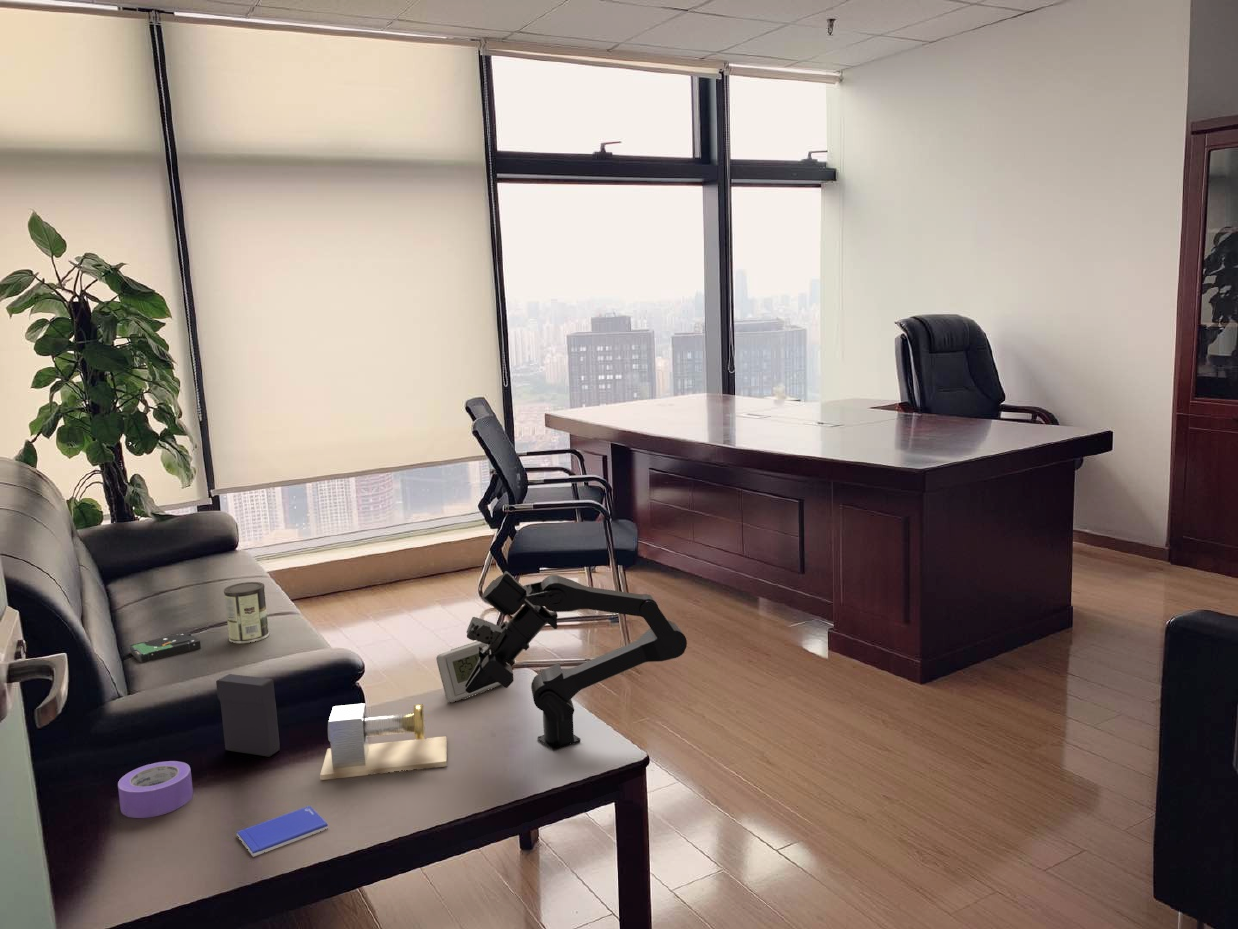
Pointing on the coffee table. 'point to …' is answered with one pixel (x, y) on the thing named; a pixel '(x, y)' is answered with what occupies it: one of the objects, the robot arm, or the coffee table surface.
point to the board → (393, 758)
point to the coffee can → (246, 612)
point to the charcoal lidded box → (248, 714)
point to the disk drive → (164, 647)
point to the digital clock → (459, 670)
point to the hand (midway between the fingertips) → (466, 689)
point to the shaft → (395, 724)
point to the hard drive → (282, 830)
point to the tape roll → (155, 789)
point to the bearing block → (348, 736)
